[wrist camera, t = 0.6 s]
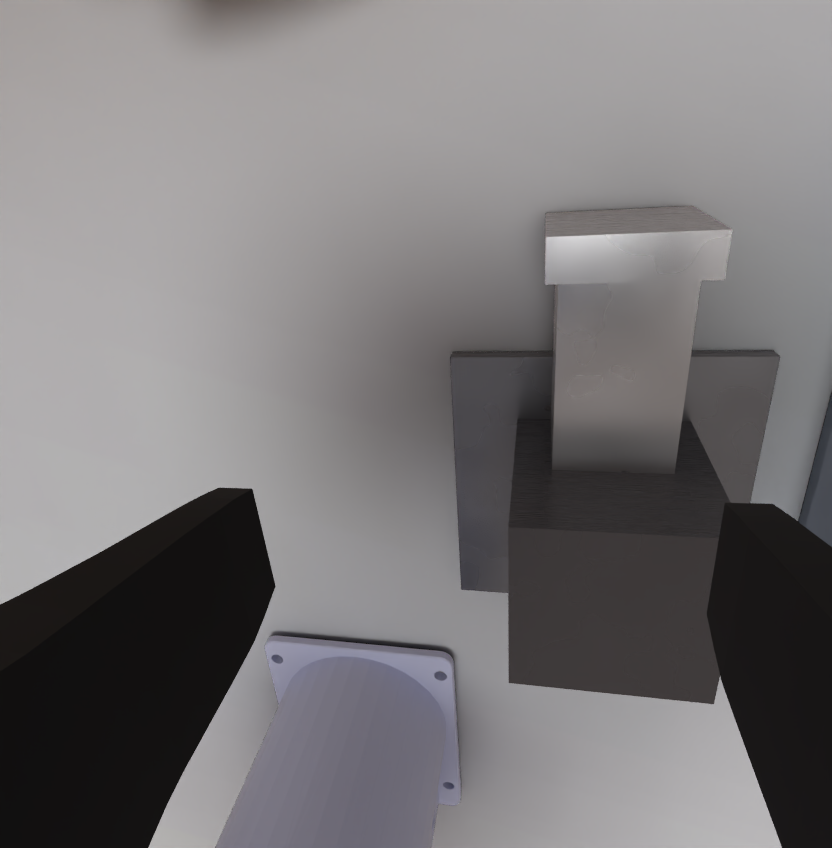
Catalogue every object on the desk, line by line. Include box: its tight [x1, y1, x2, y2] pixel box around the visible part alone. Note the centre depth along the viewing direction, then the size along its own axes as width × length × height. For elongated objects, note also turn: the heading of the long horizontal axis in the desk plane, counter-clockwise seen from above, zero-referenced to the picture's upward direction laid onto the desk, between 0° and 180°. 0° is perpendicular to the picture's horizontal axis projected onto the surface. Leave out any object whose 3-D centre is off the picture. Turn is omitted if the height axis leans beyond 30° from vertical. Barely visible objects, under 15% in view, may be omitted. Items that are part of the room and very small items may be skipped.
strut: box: [508, 206, 733, 704], centre depth 15 cm, size 11×5×6 cm, turn 4°
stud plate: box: [450, 351, 780, 593], centre depth 18 cm, size 9×9×5 cm
